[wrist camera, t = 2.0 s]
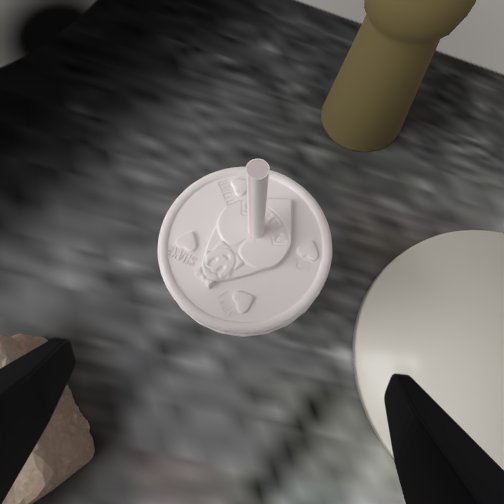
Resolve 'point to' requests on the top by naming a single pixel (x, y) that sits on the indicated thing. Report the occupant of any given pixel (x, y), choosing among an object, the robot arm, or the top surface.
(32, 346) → the brick
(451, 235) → the plate
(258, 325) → the smoothie
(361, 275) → the top surface
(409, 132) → the top surface
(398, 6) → the cork
